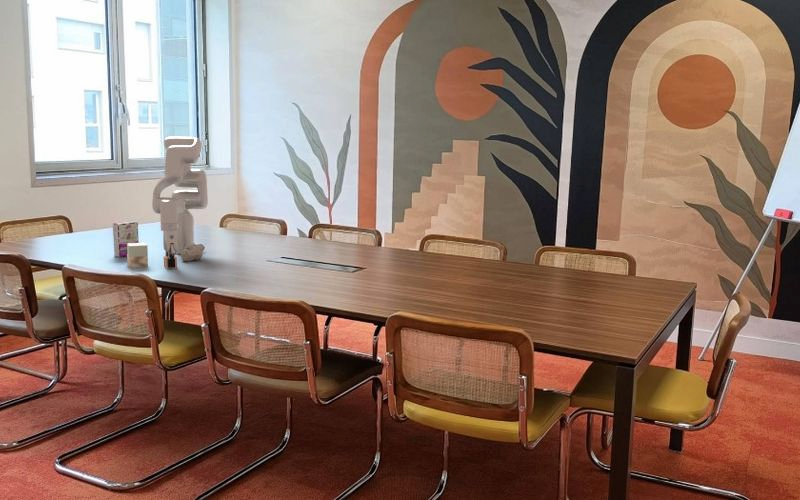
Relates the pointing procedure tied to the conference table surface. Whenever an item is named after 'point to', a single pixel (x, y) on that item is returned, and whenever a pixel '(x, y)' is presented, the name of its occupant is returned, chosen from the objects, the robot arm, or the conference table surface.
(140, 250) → the tower top
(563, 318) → the conference table surface
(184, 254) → the fossil replica
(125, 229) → the candy bar box
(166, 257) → the terracotta cube
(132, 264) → the tower bottom
